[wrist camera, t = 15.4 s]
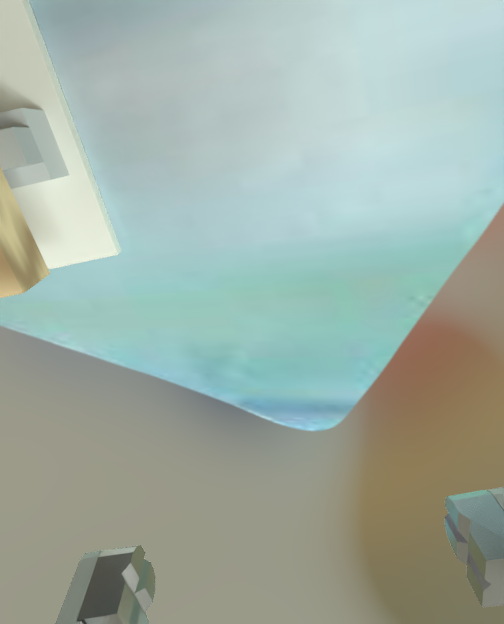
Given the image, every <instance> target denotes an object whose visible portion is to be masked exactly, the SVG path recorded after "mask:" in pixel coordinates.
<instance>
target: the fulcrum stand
mask: <svg viewBox="0 0 504 624" xmlns="http://www.w3.org/2000/svg"><path fill="white" fill-rule="evenodd" d="M0 167H1V169H2V171H3V173H4V175H5V178H6V180H7V182H8V184H9V186H10V188H11V190H12V193H13V195H14V197H15V199H16V201H17V203H18V206H19V208H20V210H21V212H22V214H23V216H24V218H25V221H26V223H27V225H28V227H29V229H30V231H31V233H32V236H33V238H34V240H35V242H36V244H37V246H38V248H39V251H40V253H41V255H42V257H43V259H44V261H45V264H46V266H47V268H48V269H53V268H57V267H62V266H67V265H71V264H76V263H81V262H85V261H90V260H95V259H100V258H104V257H109V256H114V255H118V254H119V253H120V252H121V248H120V246H119V243H118V240H117V238H116V235H115V232H114V229H113V227H112V224H111V221H110V219H109V216H108V213H107V211H106V208H105V205H104V202H103V200H102V197H101V194H100V192H99V189H98V186H97V183H96V181H95V178H94V175H93V173H92V170H91V167H90V165H89V162H88V159H87V156H86V154H85V151H84V148H83V146H82V143H81V140H80V138H79V135H78V132H77V129H76V127H75V124H74V121H73V119H72V116H71V113H70V110H69V108H68V105H67V102H66V100H65V97H64V94H63V92H62V89H61V86H60V83H59V81H58V78H57V75H56V73H55V70H54V67H53V65H52V62H51V59H50V56H49V54H48V51H47V48H46V46H45V43H44V40H43V37H42V35H41V32H40V29H39V27H38V24H37V21H36V19H35V16H34V13H33V10H32V8H31V5H30V2H29V0H0Z"/></svg>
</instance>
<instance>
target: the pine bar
mask: <svg viewBox="0 0 504 624" xmlns="http://www.w3.org/2000/svg"><path fill="white" fill-rule="evenodd" d="M49 274H50V272H49V270H48V268H47V266H46V264H45V261H44V259H43V257H42V255H41V253H40V251H39V248H38V246H37V244H36V242H35V240H34V238H33V236H32V233H31V231H30V229H29V227H28V225H27V223H26V221H25V218H24V216H23V214H22V212H21V210H20V208H19V206H18V203H17V201H16V199H15V197H14V195H13V193H12V190H11V188H10V186H9V184H8V182H7V180H6V178H5V175H4V173H3V171H2V169H1V167H0V298H2V297H7V296H12V295H17V294H21V293H24V292H26V291H27V290H28V289H30V288H31V287H33V286H34V285H35V284H37V283H38V282H39V281H41V280H42V279H44V278H45V277H46V276H48V275H49Z"/></svg>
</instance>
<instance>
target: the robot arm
mask: <svg viewBox="0 0 504 624" xmlns="http://www.w3.org/2000/svg"><path fill="white" fill-rule="evenodd" d="M445 507H446V509H447V510H448V514H447V515H446V517H445V528H446V531H447V536H448V539H449V542H450V544H451V547H452V549H453V551H454V553H455V555H456V557H457V558H458V559H459V560H461V561H462V562H463V563H465V564H466V565H467V579H468V581H469V583H470V585H471V587H472V589H473V591H474V593H475V595H476V597H477V598H478V601H479V602H480V604H481V606H482V607H489V606H498V605H504V487H502V488H497V489H491V490H481V491H475V492H470V493H464V494H458V495H453V496H447V497H446V499H445ZM144 556H145V551H144V549H143V548H142V546H141V545H138V546H132V547H125V548H118V549H111V550H103V551H96V552H90V553H85V554H84V556H83V557H82V558H81V560H80V562H79V564H78V567H77V569H76V572H75V575H74V577H73V580H72V582H71V585H70V587H69V590H68V593H67V595H66V598H65V600H64V603H63V605H62V608H61V611H60V613H59V616H58V618H57V621H56V623H55V624H149V620H148V618H147V615H146V613H145V612H146V611H147V610H148V608H149V607H150V605H151V604H152V603H153V599H154V594H155V573H154V568H153V567H152V564H151V562H149V561H147V560H145V559H144Z"/></svg>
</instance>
